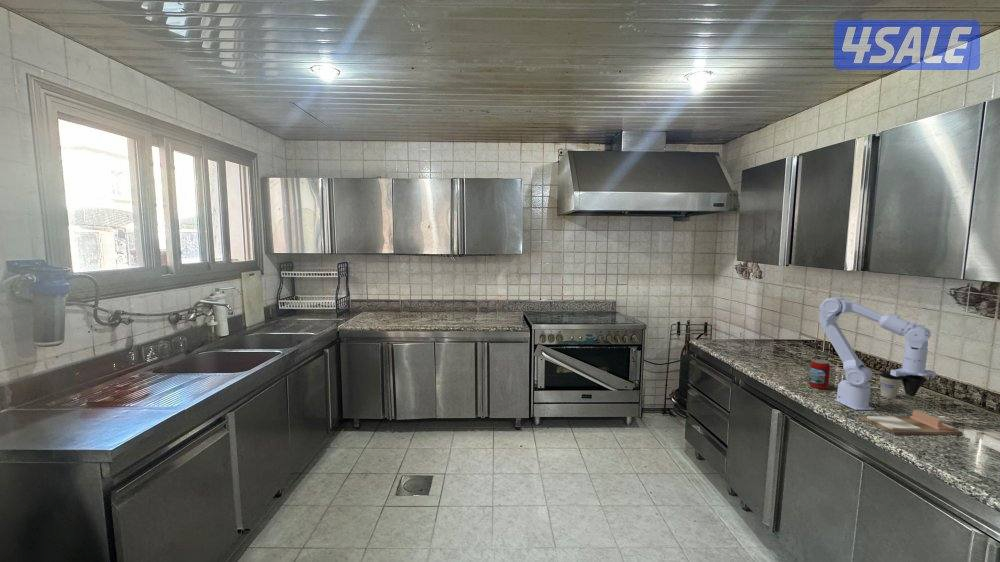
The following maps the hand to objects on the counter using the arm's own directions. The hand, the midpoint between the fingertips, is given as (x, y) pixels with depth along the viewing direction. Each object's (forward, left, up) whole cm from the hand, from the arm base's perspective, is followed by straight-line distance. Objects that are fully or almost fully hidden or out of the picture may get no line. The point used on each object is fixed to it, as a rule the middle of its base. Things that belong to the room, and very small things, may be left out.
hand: (910, 395), depth 143 cm
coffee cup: (-22, +16, -10) cm, 29 cm away
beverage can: (-32, -6, -10) cm, 34 cm away
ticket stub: (+5, +3, -8) cm, 10 cm away
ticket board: (+5, -5, -9) cm, 12 cm away
